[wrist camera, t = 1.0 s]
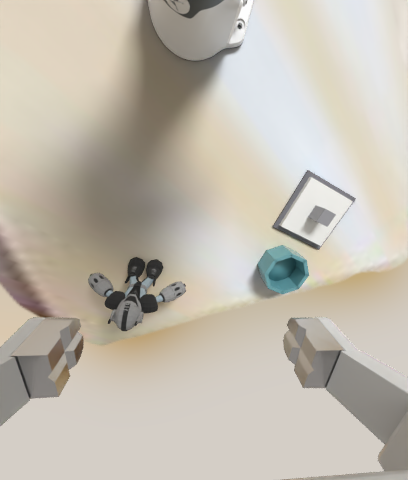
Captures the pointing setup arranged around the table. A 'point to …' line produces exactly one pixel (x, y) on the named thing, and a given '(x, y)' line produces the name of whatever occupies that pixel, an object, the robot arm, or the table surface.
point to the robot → (134, 293)
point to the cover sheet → (307, 205)
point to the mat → (292, 199)
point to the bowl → (283, 269)
